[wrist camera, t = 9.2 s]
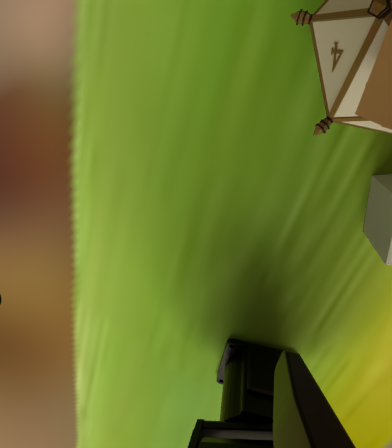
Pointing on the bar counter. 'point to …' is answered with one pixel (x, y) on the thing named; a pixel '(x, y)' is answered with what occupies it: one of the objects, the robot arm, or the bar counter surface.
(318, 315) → the bar counter surface
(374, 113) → the terracotta block
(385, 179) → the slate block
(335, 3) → the game die
